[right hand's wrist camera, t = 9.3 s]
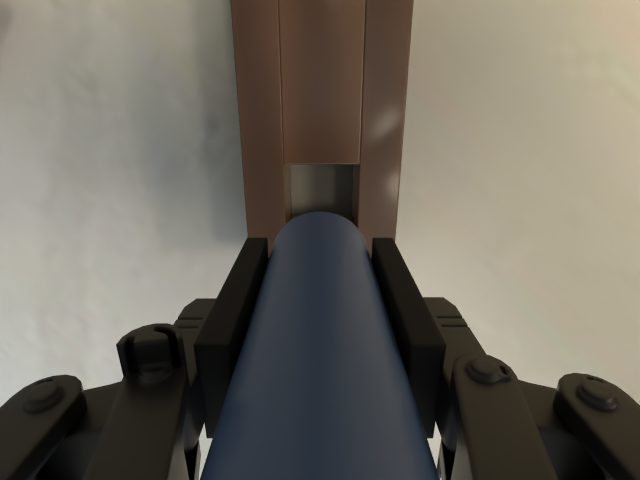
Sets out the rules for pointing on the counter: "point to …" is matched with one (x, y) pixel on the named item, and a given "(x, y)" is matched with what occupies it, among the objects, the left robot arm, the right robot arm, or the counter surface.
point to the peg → (319, 371)
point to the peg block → (321, 103)
